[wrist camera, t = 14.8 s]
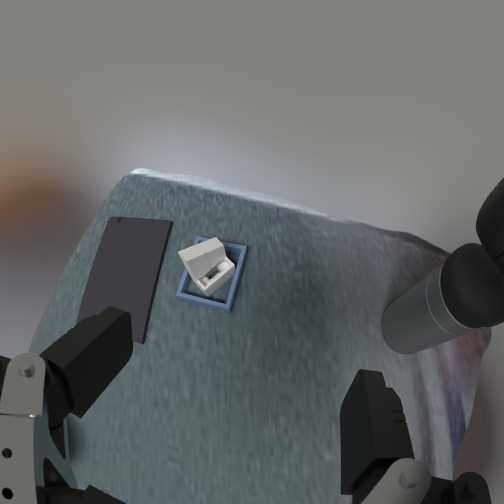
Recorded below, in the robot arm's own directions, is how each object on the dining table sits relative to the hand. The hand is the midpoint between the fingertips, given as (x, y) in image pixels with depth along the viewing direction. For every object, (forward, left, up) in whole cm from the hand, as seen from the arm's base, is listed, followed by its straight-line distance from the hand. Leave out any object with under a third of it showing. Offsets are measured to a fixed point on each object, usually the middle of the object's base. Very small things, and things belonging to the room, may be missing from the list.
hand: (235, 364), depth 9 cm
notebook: (+25, -11, -33) cm, 43 cm away
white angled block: (+10, -14, -33) cm, 37 cm away
